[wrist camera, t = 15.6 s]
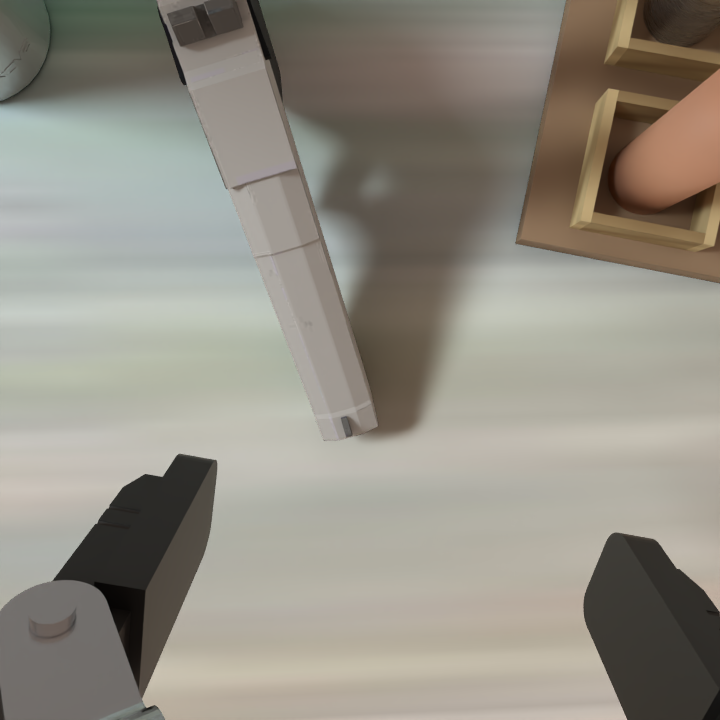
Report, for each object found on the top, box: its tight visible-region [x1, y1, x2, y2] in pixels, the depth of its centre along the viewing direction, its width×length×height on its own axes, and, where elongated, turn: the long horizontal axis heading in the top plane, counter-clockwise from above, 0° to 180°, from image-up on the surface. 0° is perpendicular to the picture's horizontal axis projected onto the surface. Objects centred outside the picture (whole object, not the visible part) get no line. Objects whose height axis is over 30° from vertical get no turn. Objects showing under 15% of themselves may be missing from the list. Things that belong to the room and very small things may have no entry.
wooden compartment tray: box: [516, 0, 720, 283], centre depth 34 cm, size 20×13×4 cm, turn 168°
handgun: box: [157, 0, 378, 441], centre depth 33 cm, size 4×28×15 cm
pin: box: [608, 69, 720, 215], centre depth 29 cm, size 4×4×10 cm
